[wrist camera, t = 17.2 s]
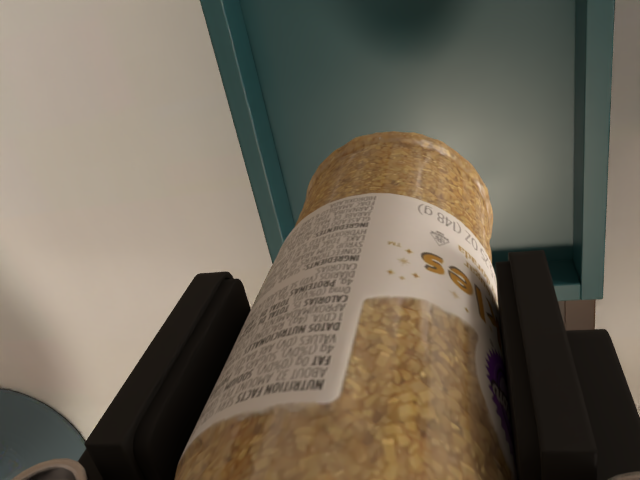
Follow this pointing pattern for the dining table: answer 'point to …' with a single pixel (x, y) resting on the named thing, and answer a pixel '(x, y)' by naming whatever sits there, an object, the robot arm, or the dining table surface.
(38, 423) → the cocktail glass
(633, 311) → the dining table surface
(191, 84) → the dining table surface
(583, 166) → the tray
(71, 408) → the dining table surface
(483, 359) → the sprinkles bottle
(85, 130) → the dining table surface
